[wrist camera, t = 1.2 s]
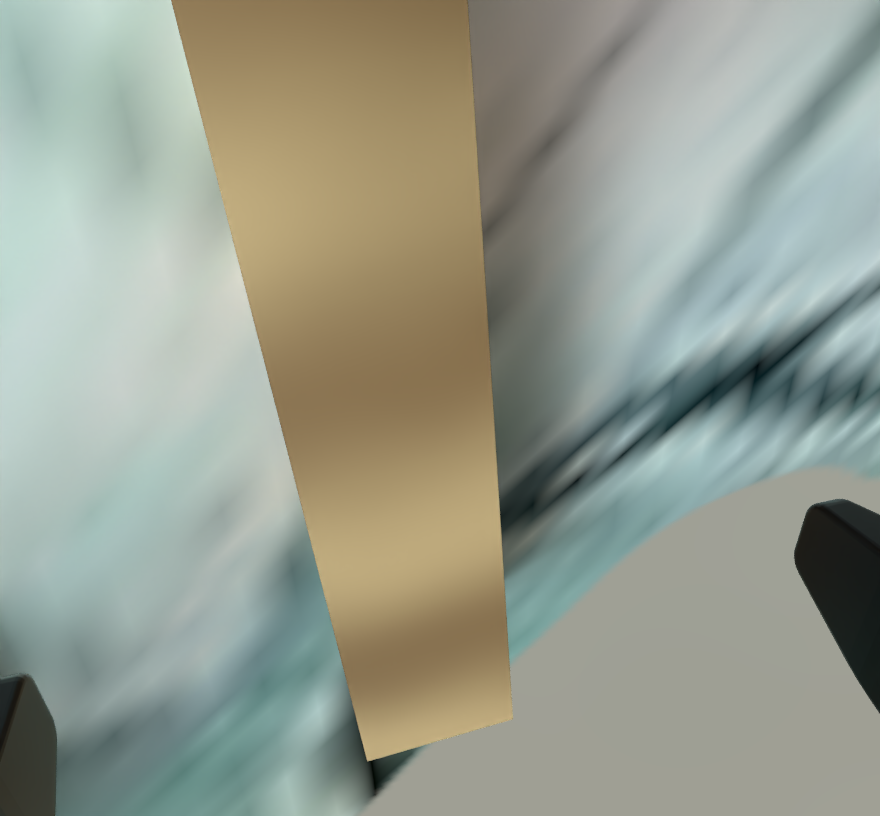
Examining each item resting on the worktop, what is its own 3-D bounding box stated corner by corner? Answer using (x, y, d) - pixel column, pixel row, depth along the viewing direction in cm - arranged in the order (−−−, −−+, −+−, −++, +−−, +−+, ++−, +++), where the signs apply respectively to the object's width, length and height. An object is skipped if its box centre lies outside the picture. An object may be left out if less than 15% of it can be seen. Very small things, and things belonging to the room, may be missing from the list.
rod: (466, 594, 22) (513, 719, 19) (340, 627, 22) (367, 761, 18) (357, -439, 10) (432, -570, 7) (79, -424, 10) (27, -556, 7)
